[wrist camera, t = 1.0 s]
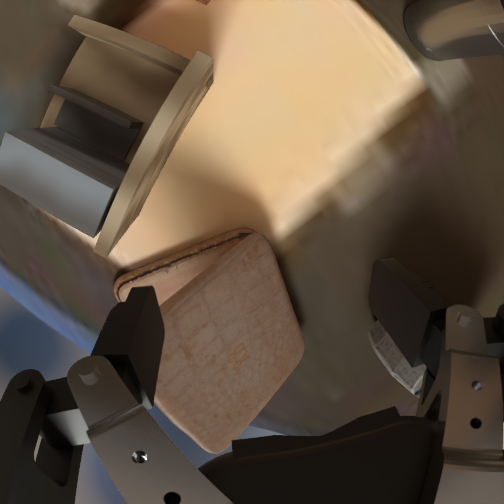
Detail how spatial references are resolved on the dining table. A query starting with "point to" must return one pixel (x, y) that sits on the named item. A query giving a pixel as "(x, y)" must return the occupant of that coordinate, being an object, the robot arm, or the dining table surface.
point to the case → (220, 334)
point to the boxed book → (203, 1)
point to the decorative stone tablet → (395, 359)
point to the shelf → (105, 131)
